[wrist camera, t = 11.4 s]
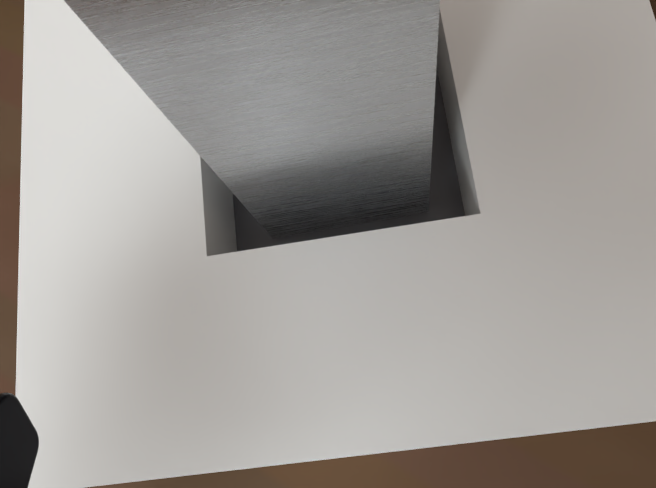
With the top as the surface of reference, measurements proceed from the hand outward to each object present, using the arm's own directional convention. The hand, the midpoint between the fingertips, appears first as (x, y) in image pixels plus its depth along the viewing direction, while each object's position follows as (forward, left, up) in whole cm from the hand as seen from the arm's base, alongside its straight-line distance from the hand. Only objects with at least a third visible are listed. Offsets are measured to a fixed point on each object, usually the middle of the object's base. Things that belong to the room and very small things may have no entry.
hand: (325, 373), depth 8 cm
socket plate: (+2, +6, -8) cm, 10 cm away
